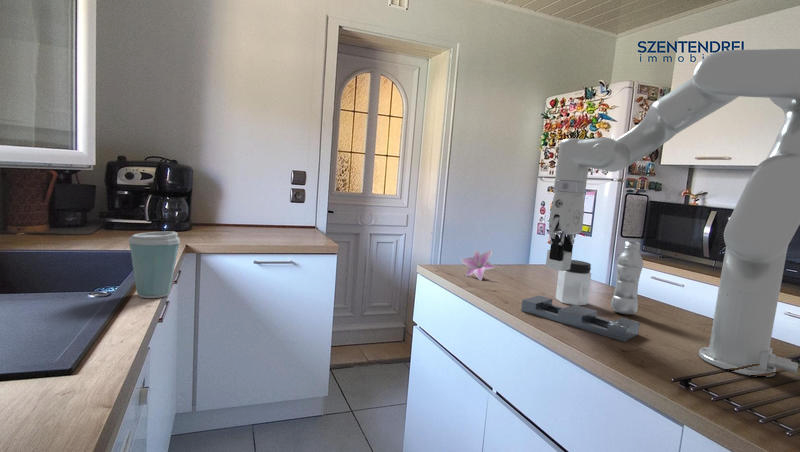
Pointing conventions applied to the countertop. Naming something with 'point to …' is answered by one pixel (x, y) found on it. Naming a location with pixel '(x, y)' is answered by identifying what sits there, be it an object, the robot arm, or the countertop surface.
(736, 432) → the countertop surface
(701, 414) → the countertop surface
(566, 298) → the jar
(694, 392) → the countertop surface
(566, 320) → the rail
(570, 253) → the nut
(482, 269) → the lily
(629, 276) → the plastic bottle
